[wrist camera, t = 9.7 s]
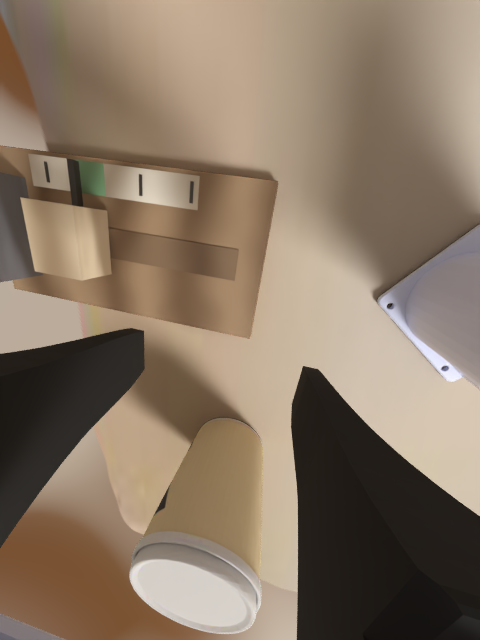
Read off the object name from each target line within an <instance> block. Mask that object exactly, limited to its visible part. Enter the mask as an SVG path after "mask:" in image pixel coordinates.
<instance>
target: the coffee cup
mask: <svg viewBox="0 0 480 640" xmlns="http://www.w3.org/2000/svg"><path fill="white" fill-rule="evenodd" d="M262 484H263V446H262V442H261V439H260V437H259V436H258V434H257V433H256V432H255V431H254V430H253V429H252V428H251V427H250V426H248V425H247V424H245V423H243V422H241V421H239V420H235V419H231V418H216V419H213V420H210V421H208V422H206V423H205V424H204V425H203V426H202V427H201V429H200V430H199V432H198V434H197V435H196V437H195V439H194V441H193V442H192V444H191V446H190V448H189V450H188V452H187V454H186V456H185V458H184V459H183V461H182V463H181V465H180V467H179V469H178V471H177V473H176V474H175V476H174V478H173V480H172V482H171V484H170V486H169V488H168V489H167V491H166V493H165V495H164V497H163V499H162V501H161V503H160V505H159V507H158V508H157V510H156V512H155V514H154V516H153V518H152V520H151V522H150V524H149V526H148V528H147V530H146V532H145V534H144V536H143V538H142V539H141V540H140V541H139V542H138V544H137V546H136V547H135V550H134V552H133V554H132V560H131V561H132V565H131V568H130V573H129V576H130V581H131V584H132V586H133V588H134V590H135V591H136V593H137V594H138V595H139V596H140V597H141V598H142V599H143V600H144V601H145V602H146V603H148V605H150V606H151V607H152V608H153V609H155V610H156V611H158V612H160V613H161V614H163V615H164V616H166V617H168V618H170V619H172V620H174V621H176V622H178V623H180V624H183V625H185V626H188V627H191V628H194V629H197V630H201V631H205V632H210V633H218V634H233V633H240V632H242V631H245V630H247V629H248V628H249V627H251V625H252V624H253V622H254V620H255V617H256V612H257V611H258V610H259V607H260V604H261V584H260V565H261V529H262Z"/></svg>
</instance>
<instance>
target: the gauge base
mask: <svg viewBox="0 0 480 640" xmlns="http://www.w3.org/2000/svg"><path fill="white" fill-rule="evenodd" d="M66 158H67V159H73V160H76V161H79V169H80V179H81V188H82V197H83V207H87V208H93V209H99V210H106V211H107V216H108V230H109V244H110V259H111V273H112V274H110V275H105V276H101V277H96V278H92V279H87V280H83V281H81V280H76V279H71V278H66V277H61V276H56V275H51V274H46V273H41V272H36V271H35V269H34V264H33V259H32V254H31V249H30V244H29V239H28V234H27V229H26V224H25V219H24V214H23V209H22V204H21V199H20V197H21V198H28V199H34V200H41V201H48V202H55V203H61V204H68V205H72V200H71V191H70V183H69V175H68V167H67V159H66ZM277 188H278V181H272V180H264V179H256V178H248V177H240V176H233V175H225V174H217V173H209V172H202V171H194V170H186V169H178V168H170V167H163V166H155V165H147V164H139V163H132V162H124V161H116V160H108V159H100V158H93V157H85V156H77V155H69V154H61V153H54V152H46V151H38V150H30V149H22V148H15V147H7V146H0V282H4V281H10V280H13V283H14V287H15V289H20V290H24V291H29V292H34V293H39V294H43V295H48V296H52V297H57V298H62V299H66V300H71V301H76V302H80V303H85V304H90V305H94V306H99V307H104V308H108V309H113V310H118V311H122V312H127V313H132V314H136V315H141V316H146V317H150V318H155V319H160V320H164V321H169V322H174V323H178V324H183V325H188V326H192V327H197V328H202V329H206V330H211V331H216V332H220V333H225V334H230V335H234V336H239V337H244V338H248V339H250V336H251V331H252V326H253V320H254V315H255V309H256V304H257V298H258V293H259V287H260V282H261V276H262V271H263V265H264V260H265V254H266V249H267V243H268V238H269V232H270V227H271V221H272V216H273V210H274V205H275V199H276V194H277Z"/></svg>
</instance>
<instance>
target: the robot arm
mask: <svg viewBox="0 0 480 640" xmlns="http://www.w3.org/2000/svg"><path fill="white" fill-rule="evenodd" d="M389 303H392V306H391V307H390V308H387V305H388V304H389ZM378 304H379V305H380V307H381V308H382V309H383V310H384V311H385V312H386V313H387V315H388V316H389V317H390V318H391V319H392V320H393V321H394V322H395V324H396V325H397V326H398V327H399V328H400V329H401V330H402V332H403V333H404V334H405V335H406V336H407V337H408V338H409V340H410V341H411V342H412V343H413V344H414V345H415V346H416V347H417V349H418V350H419V351H420V352H421V353H422V354H423V355H424V357H425V358H426V359H427V360H428V361H429V362H430V363H431V364H432V366H433V367H434V368H435V369H436V370H437V371H438V372H439V374H440V375H441V376H442V377H443V378H444V379H445V380H447V381H449V382H453V381H456V380H458V379H460V378H462V377H464V378H465V379H466V380H468V381H469V382H470V383H472V384H473V385H474V386H475V387H477V388H478V389H479V390H480V224H479V225H478V226H476V227H475V228H474V229H472V230H471V231H469V232H468V233H467V234H465V235H464V236H462V237H461V238H460V239H458V240H457V241H456V242H454V243H453V244H451V245H450V246H449V247H447V248H446V249H444V250H443V251H442V252H440V253H439V254H438V255H436V256H435V257H433V258H432V259H431V260H429V261H428V262H426V263H425V264H424V265H422V266H421V267H420V268H418V269H417V270H415V271H414V272H413V273H411V274H410V275H408V276H407V277H406V278H404V279H403V280H402V281H400V282H399V283H397V284H396V285H395V286H393V287H392V288H390V289H389V290H388V291H386V292H385V293H384V294H382V295H381V296H380V297H379V298H378ZM443 366H445V367H444V368H442V367H443ZM441 368H442V369H441ZM143 370H144V331H142V330H137V329H132V328H130V329H123V330H118V331H113V332H109V333H104V334H100V335H96V336H92V337H88V338H83V339H80V340H75V341H70V342H66V343H61V344H56V345H52V346H47V347H42V348H36V349H30V350H24V351H17V352H11V353H4V354H0V548H1V546H2V545H3V543H4V542H5V540H6V539H7V537H8V536H9V534H10V533H11V531H12V530H13V529H14V527H15V526H16V524H17V523H18V521H19V520H20V519H21V517H22V516H23V515H24V513H25V512H26V510H27V509H28V508H29V506H30V505H31V503H32V502H33V501H34V499H35V498H36V497H37V495H38V494H39V492H40V491H41V490H42V488H43V487H44V486H45V485H46V483H47V482H48V481H49V479H50V478H51V477H52V475H53V474H54V473H55V472H56V470H57V469H58V468H59V466H60V465H61V464H62V462H63V461H64V460H65V459H66V457H67V456H68V455H69V454H70V453H71V451H72V450H73V449H74V448H75V446H76V445H77V444H78V443H79V442H80V440H81V439H82V438H83V437H84V436H85V435H86V433H87V432H88V431H89V430H90V429H91V428H92V427H93V426H94V425H95V424H96V423H97V422H98V421H99V420H100V419H101V418H102V417H103V416H104V415H105V414H106V413H107V412H108V411H109V409H110V408H111V407H112V406H113V405H114V404H115V403H116V402H117V401H118V400H119V399H120V398H121V397H122V396H123V395H124V394H125V393H126V392H127V391H128V390H129V389H130V388H131V387H132V385H133V384H134V383H135V381H136V380H137V379H138V377H139V376H140V375H141V373H142V372H143ZM291 429H292V440H293V450H294V460H295V470H296V480H297V494H298V613H297V614H298V616H297V640H480V516H478V515H477V514H476V513H474V512H473V511H471V510H470V509H469V508H467V507H466V506H464V505H463V504H462V503H460V502H459V501H458V500H456V499H455V498H454V497H452V496H451V495H450V494H448V493H447V492H446V491H444V490H443V489H442V488H440V487H439V486H438V485H436V484H435V483H434V482H433V481H431V480H430V479H429V478H428V477H426V476H425V475H424V474H423V473H421V472H420V471H419V470H418V469H416V468H415V467H414V466H413V465H411V464H410V463H409V462H408V461H407V460H406V459H404V458H403V457H402V456H401V455H400V454H398V453H397V452H396V451H395V450H394V449H393V448H392V447H391V446H390V445H388V444H387V443H386V442H385V441H384V440H383V439H382V438H381V437H380V436H379V435H377V434H376V433H375V432H374V431H373V430H372V429H371V428H370V427H369V426H368V425H367V424H366V423H365V422H364V421H363V420H362V419H361V418H360V417H359V416H358V414H357V413H356V412H355V411H354V410H353V409H352V408H351V407H350V406H349V405H348V404H347V403H346V401H345V400H344V399H343V398H342V397H341V396H340V395H339V393H338V392H337V391H336V390H335V389H334V387H333V386H332V385H331V384H330V383H329V381H328V380H327V379H326V378H325V377H324V375H323V374H322V373H321V372H320V371H319V370H318V369H314V368H310V367H305V366H303V369H302V372H301V375H300V379H299V382H298V385H297V389H296V392H295V396H294V399H293V402H292V416H291ZM0 640H65V639H63V638H60V637H58V636H55V635H53V634H50V633H48V632H45V631H43V630H40V629H38V628H36V627H33V626H30V625H28V624H25V623H23V622H21V621H18V620H15V619H13V618H11V617H8V616H6V615H3V614H1V613H0Z"/></svg>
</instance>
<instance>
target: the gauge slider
mask: <svg viewBox="0 0 480 640" xmlns="http://www.w3.org/2000/svg"><path fill="white" fill-rule="evenodd" d="M66 159H67V158H66ZM67 167H68V175H69V183H70V191H71V200H72V205H68V204H61V203H55V202H48V201H41V200H34V199H28V198H21V197H20V199H21V204H22V209H23V214H24V219H25V224H26V229H27V234H28V239H29V244H30V249H31V254H32V259H33V264H34V269H35V271H36V272H41V273H46V274H51V275H56V276H61V277H66V278H71V279H76V280H81V281H83V280H87V279H92V278H96V277H101V276H105V275H110V274H112V273H111V259H110V244H109V230H108V216H107V211H106V210H99V209H93V208H87V207H83V197H82V188H81V179H80V169H79V161H76V160H73V159H67Z"/></svg>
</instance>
